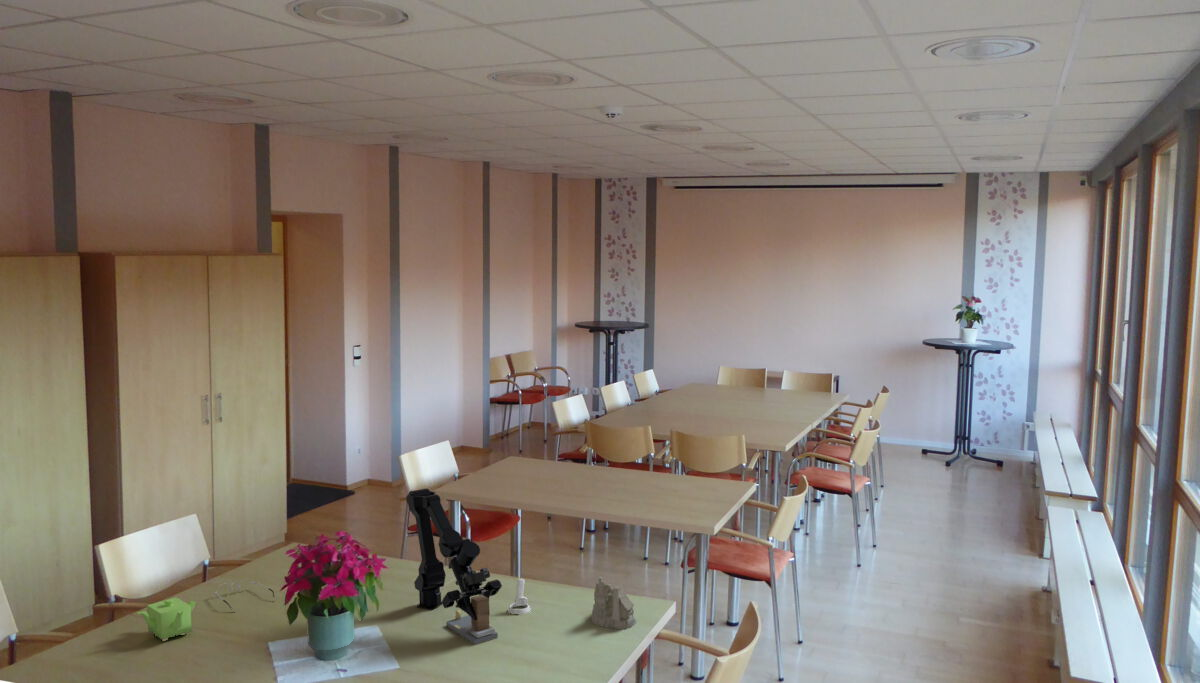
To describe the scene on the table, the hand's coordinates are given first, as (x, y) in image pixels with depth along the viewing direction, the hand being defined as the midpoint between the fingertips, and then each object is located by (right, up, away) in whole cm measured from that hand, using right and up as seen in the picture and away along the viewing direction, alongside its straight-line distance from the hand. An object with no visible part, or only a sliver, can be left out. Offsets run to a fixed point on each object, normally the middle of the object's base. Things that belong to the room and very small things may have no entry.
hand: (482, 618), depth 281 cm
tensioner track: (-4, -6, +6) cm, 10 cm away
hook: (+9, -5, +23) cm, 25 cm away
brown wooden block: (-1, -5, +2) cm, 5 cm away
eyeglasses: (-86, -5, +34) cm, 93 cm away
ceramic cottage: (+41, -5, +16) cm, 45 cm away
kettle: (-99, -7, +5) cm, 99 cm away
